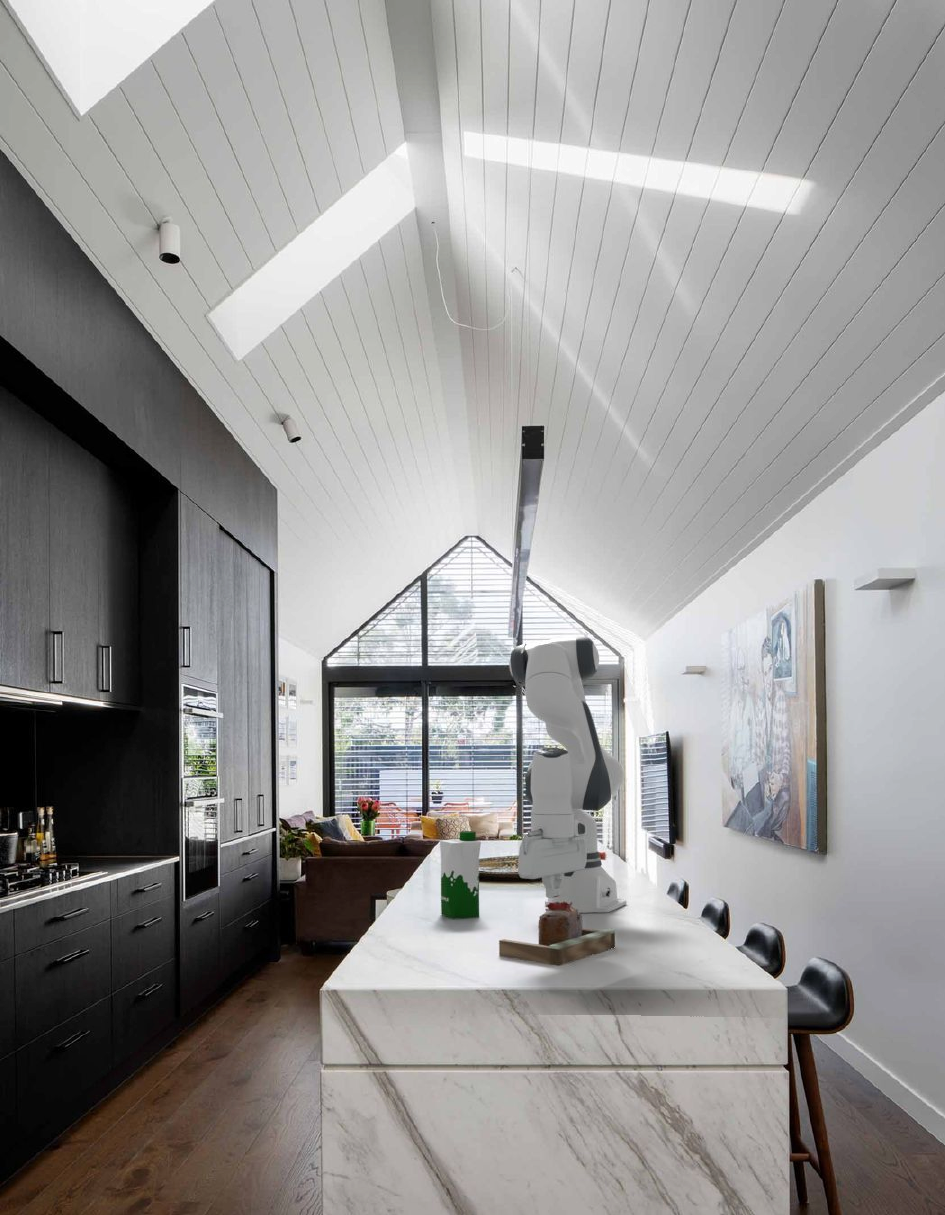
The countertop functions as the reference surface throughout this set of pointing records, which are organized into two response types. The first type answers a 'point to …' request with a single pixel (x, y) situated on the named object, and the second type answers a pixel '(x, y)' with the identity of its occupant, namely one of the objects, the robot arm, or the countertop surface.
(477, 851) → the milk carton
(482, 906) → the countertop surface
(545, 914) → the food item
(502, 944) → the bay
